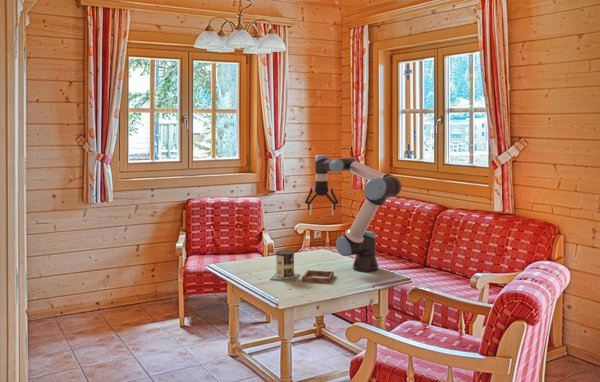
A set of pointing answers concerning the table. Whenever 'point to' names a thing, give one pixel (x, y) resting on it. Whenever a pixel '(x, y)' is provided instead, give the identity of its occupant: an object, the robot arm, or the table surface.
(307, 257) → the table surface
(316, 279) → the tray
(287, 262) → the coffee can
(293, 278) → the mat
